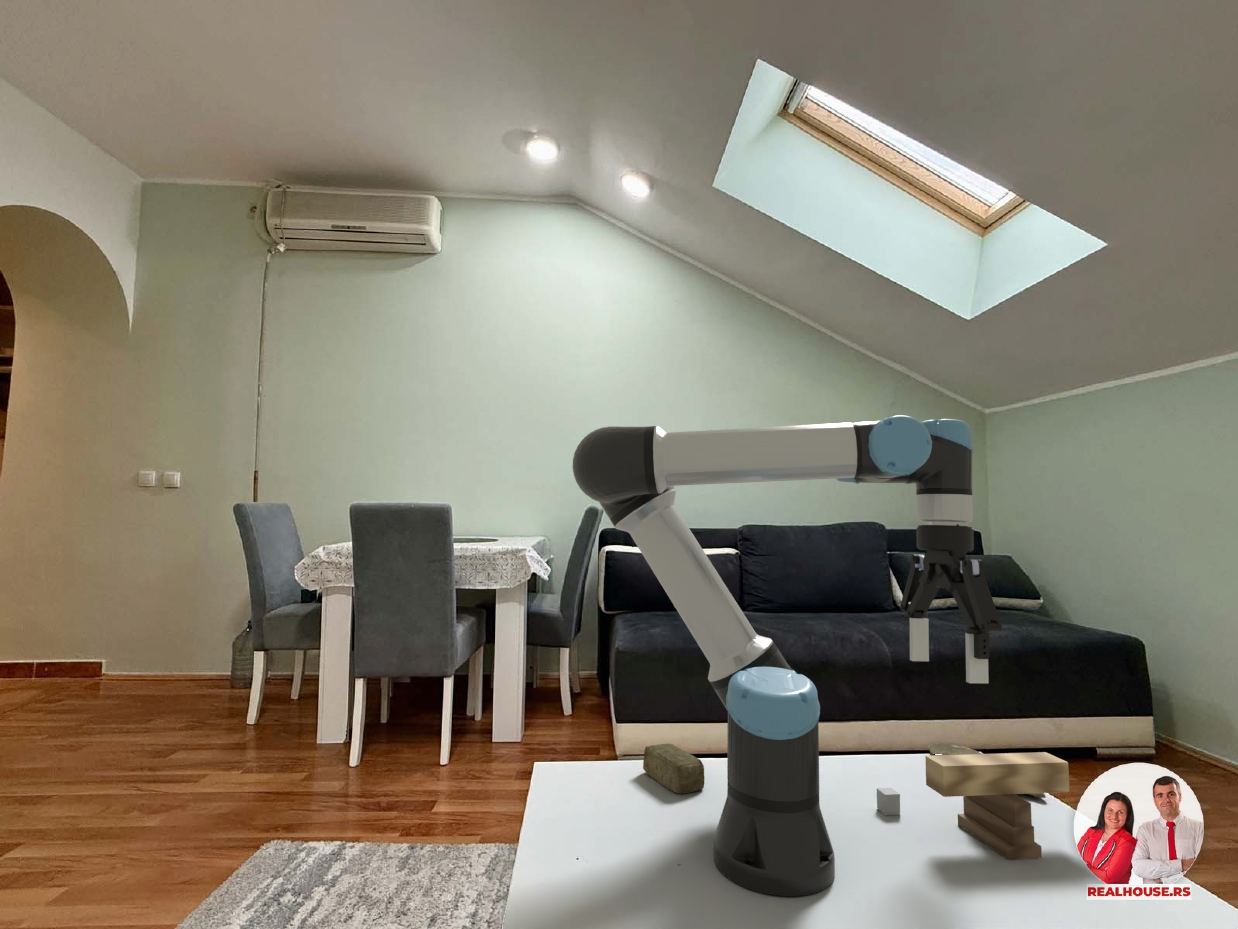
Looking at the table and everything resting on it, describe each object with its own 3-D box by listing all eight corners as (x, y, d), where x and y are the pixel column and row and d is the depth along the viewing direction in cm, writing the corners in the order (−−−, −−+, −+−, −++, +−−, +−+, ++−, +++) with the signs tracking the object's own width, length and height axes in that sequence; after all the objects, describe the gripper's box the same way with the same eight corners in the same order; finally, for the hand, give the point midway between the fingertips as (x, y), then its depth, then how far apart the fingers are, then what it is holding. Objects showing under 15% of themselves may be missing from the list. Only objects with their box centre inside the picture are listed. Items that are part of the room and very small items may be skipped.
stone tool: (1051, 805, 102) (969, 751, 127) (1050, 786, 102) (968, 736, 127) (982, 803, 102) (913, 749, 127) (981, 785, 103) (913, 735, 128)
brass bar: (943, 796, 87) (943, 766, 87) (926, 785, 91) (925, 755, 91) (1069, 792, 89) (1068, 762, 90) (1046, 780, 93) (1045, 752, 94)
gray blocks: (885, 815, 97) (885, 794, 97) (877, 808, 99) (876, 788, 99) (990, 811, 99) (989, 790, 99) (980, 804, 101) (979, 784, 101)
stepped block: (1007, 860, 84) (1005, 804, 85) (957, 824, 94) (956, 775, 95) (1041, 858, 85) (1039, 803, 85) (989, 823, 95) (987, 774, 95)
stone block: (678, 798, 102) (678, 766, 102) (640, 774, 112) (640, 744, 112) (707, 791, 104) (707, 760, 105) (667, 768, 114) (668, 739, 115)
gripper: (1030, 525, 83) (1034, 694, 81) (919, 524, 107) (921, 653, 105) (976, 523, 82) (979, 693, 80) (877, 523, 107) (877, 653, 105)
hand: (946, 671), depth 93 cm, fingers open, 13 cm apart
